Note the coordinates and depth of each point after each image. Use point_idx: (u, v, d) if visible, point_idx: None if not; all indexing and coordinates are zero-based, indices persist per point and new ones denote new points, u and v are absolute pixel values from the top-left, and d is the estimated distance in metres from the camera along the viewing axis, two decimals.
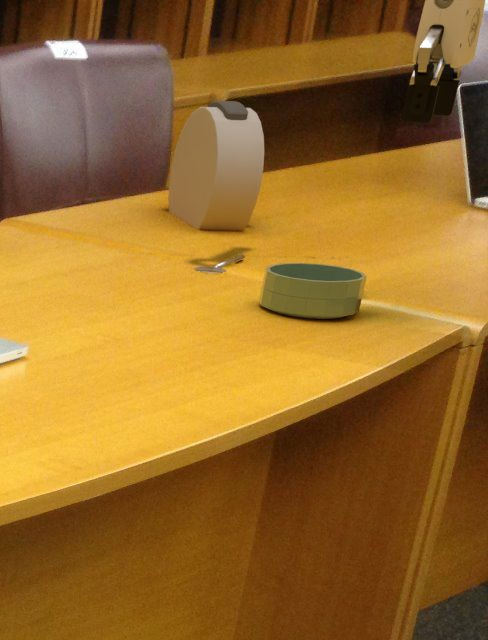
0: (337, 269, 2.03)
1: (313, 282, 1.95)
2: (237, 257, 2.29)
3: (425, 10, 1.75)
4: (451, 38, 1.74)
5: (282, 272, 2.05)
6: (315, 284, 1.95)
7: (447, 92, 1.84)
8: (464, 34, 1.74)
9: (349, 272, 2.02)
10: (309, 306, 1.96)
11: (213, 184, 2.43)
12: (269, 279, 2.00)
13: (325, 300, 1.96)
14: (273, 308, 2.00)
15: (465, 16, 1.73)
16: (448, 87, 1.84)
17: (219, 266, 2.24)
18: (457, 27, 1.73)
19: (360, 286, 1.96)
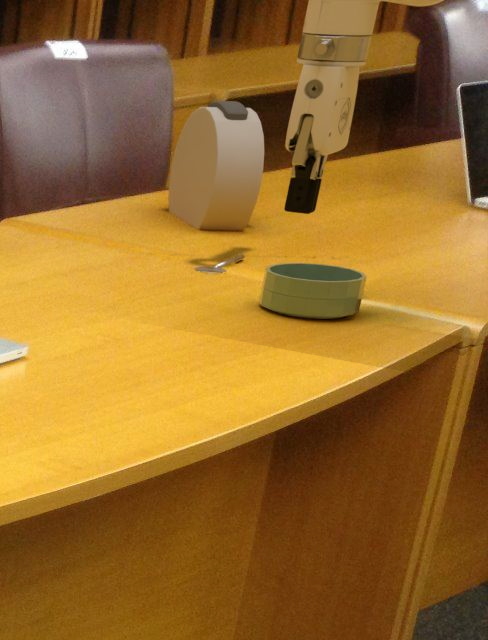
0: (337, 269, 2.03)
1: (313, 282, 1.95)
2: (237, 257, 2.29)
3: (296, 99, 1.79)
4: (320, 127, 1.78)
5: (282, 272, 2.05)
6: (315, 284, 1.95)
7: None
8: (333, 124, 1.79)
9: (349, 272, 2.02)
10: (309, 306, 1.96)
11: (213, 184, 2.43)
12: (269, 279, 2.00)
13: (325, 300, 1.96)
14: (273, 308, 2.00)
15: (333, 107, 1.77)
16: None
17: (219, 266, 2.24)
18: (326, 117, 1.78)
19: (360, 286, 1.96)
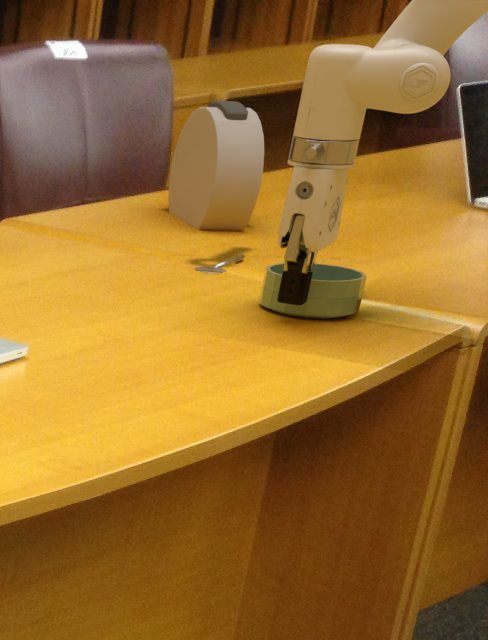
0: (337, 269, 2.03)
1: (313, 281, 1.95)
2: (237, 257, 2.29)
3: (288, 199, 1.88)
4: (311, 227, 1.87)
5: (282, 272, 2.05)
6: (315, 284, 1.95)
7: None
8: (323, 223, 1.87)
9: (350, 272, 2.02)
10: (309, 305, 1.97)
11: (213, 184, 2.43)
12: (269, 278, 2.00)
13: (325, 299, 1.96)
14: (273, 307, 2.00)
15: (323, 207, 1.86)
16: None
17: (219, 266, 2.24)
18: (316, 217, 1.86)
19: (360, 286, 1.96)
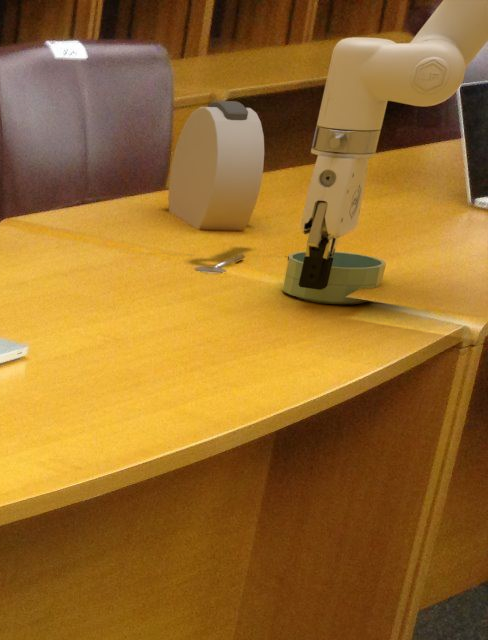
0: (359, 257, 2.10)
1: (332, 268, 2.03)
2: (237, 257, 2.29)
3: (311, 187, 1.95)
4: (333, 213, 1.94)
5: None
6: (334, 270, 2.03)
7: None
8: (345, 210, 1.94)
9: (371, 260, 2.09)
10: (328, 292, 2.04)
11: (213, 184, 2.43)
12: (291, 266, 2.08)
13: (343, 286, 2.03)
14: (294, 294, 2.07)
15: (345, 195, 1.93)
16: None
17: (219, 266, 2.24)
18: (338, 204, 1.93)
19: (379, 273, 2.03)
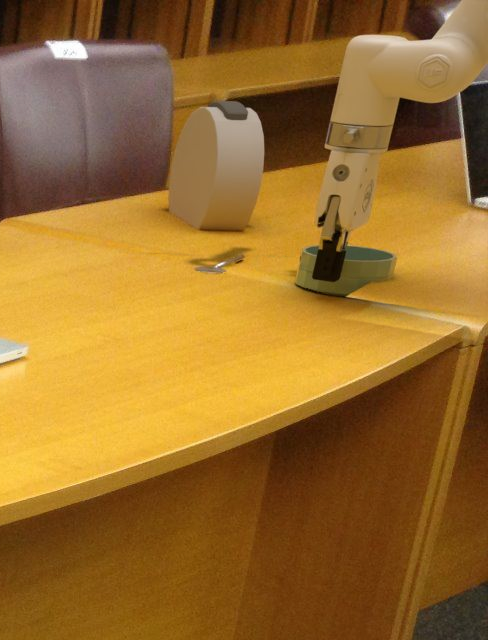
0: (371, 251, 2.14)
1: (344, 261, 2.07)
2: (237, 257, 2.29)
3: (325, 181, 1.99)
4: (347, 207, 1.98)
5: None
6: (346, 263, 2.07)
7: None
8: (358, 204, 1.98)
9: (383, 254, 2.13)
10: (340, 284, 2.08)
11: (213, 184, 2.43)
12: (304, 259, 2.12)
13: (356, 279, 2.07)
14: (307, 286, 2.12)
15: (358, 189, 1.97)
16: None
17: (219, 266, 2.24)
18: (352, 198, 1.97)
19: (390, 266, 2.08)
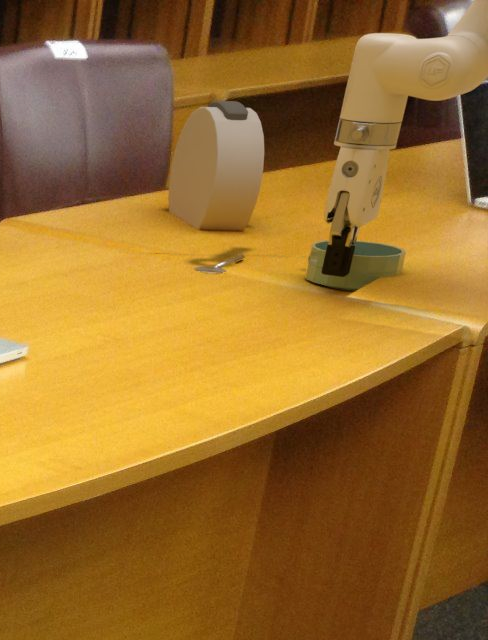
0: (380, 246, 2.17)
1: (353, 257, 2.10)
2: (237, 257, 2.29)
3: (334, 177, 2.02)
4: (356, 203, 2.01)
5: None
6: (355, 259, 2.10)
7: None
8: (367, 200, 2.01)
9: (391, 249, 2.16)
10: (349, 279, 2.11)
11: (213, 184, 2.43)
12: (313, 254, 2.15)
13: (364, 274, 2.10)
14: (316, 281, 2.15)
15: (367, 185, 2.00)
16: None
17: (219, 266, 2.24)
18: (361, 194, 2.00)
19: (399, 261, 2.11)
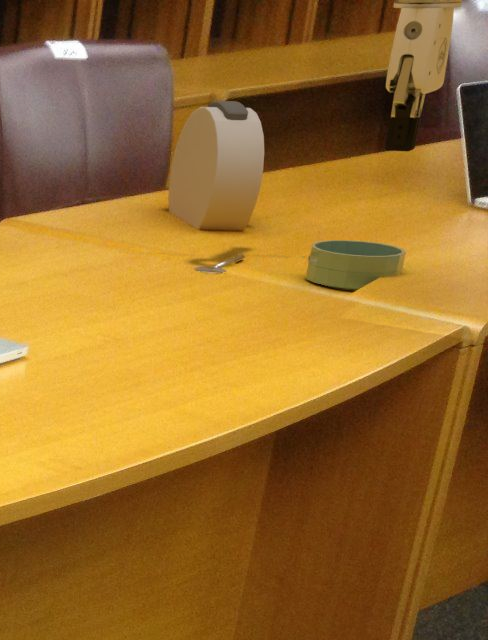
0: (380, 246, 2.17)
1: (353, 257, 2.10)
2: (237, 257, 2.29)
3: (396, 41, 1.89)
4: (420, 66, 1.88)
5: (328, 248, 2.20)
6: (355, 259, 2.10)
7: None
8: (432, 63, 1.88)
9: (391, 249, 2.16)
10: (349, 279, 2.11)
11: (213, 184, 2.43)
12: (313, 254, 2.15)
13: (364, 274, 2.10)
14: (316, 281, 2.15)
15: (432, 46, 1.87)
16: None
17: (219, 266, 2.24)
18: (426, 56, 1.87)
19: (399, 261, 2.11)
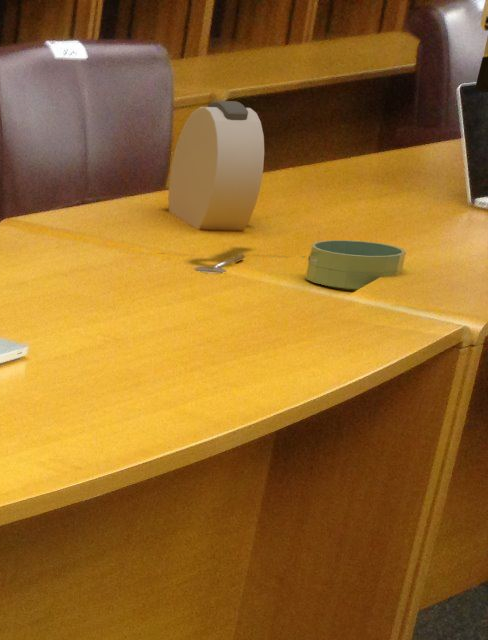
0: (380, 246, 2.17)
1: (353, 257, 2.10)
2: (237, 257, 2.29)
3: None
4: None
5: (328, 248, 2.20)
6: (355, 259, 2.10)
7: None
8: None
9: (391, 249, 2.16)
10: (349, 279, 2.11)
11: (213, 184, 2.43)
12: (313, 254, 2.15)
13: (364, 274, 2.10)
14: (316, 281, 2.15)
15: None
16: None
17: (219, 266, 2.24)
18: None
19: (399, 261, 2.11)
